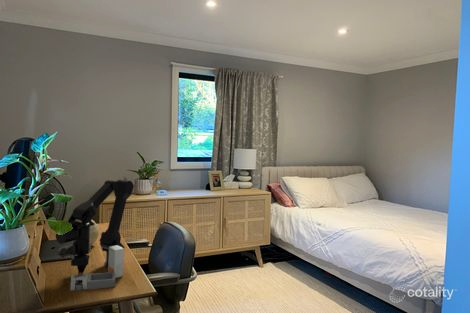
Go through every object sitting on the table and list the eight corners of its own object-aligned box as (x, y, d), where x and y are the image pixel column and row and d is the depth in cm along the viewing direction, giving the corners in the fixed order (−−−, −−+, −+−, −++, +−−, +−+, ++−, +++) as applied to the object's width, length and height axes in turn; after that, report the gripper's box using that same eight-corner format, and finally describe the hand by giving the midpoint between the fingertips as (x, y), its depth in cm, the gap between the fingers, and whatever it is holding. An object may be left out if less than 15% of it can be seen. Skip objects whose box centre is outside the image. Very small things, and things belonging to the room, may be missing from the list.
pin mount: (71, 284, 134) (72, 273, 134) (87, 282, 136) (88, 272, 136) (70, 290, 129) (70, 279, 128) (87, 289, 131) (87, 278, 130)
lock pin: (78, 279, 139) (78, 271, 139) (83, 278, 140) (83, 271, 140) (75, 290, 129) (76, 282, 129) (81, 290, 129) (81, 282, 129)
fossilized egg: (103, 244, 186) (104, 216, 185) (87, 251, 173) (88, 221, 173) (83, 241, 189) (84, 214, 188) (66, 247, 177) (67, 219, 176)
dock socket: (88, 281, 138) (88, 273, 138) (114, 278, 141) (114, 271, 141) (87, 289, 130) (87, 281, 130) (114, 286, 134) (115, 279, 134)
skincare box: (107, 274, 146) (108, 246, 145) (117, 271, 149) (118, 244, 148) (113, 278, 141) (115, 250, 141) (123, 276, 144) (124, 248, 144)
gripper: (63, 232, 146) (61, 268, 147) (57, 245, 128) (55, 286, 129) (91, 231, 150) (90, 266, 150) (89, 244, 132) (87, 283, 133)
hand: (80, 275), depth 141 cm, fingers closed
